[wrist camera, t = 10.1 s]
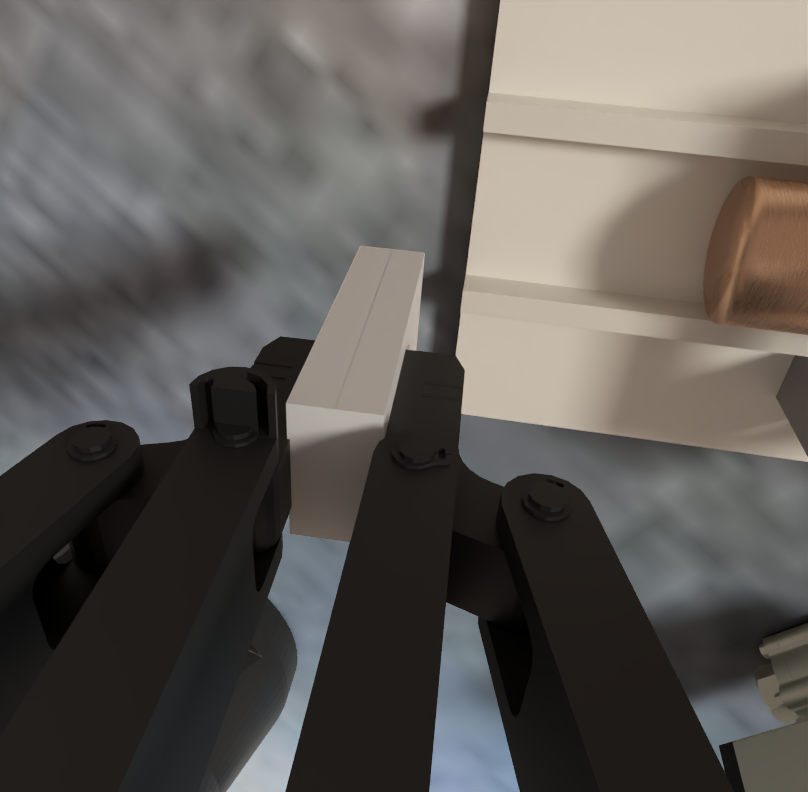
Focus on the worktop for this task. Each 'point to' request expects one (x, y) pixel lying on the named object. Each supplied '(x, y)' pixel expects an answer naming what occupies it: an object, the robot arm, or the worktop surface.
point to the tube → (760, 257)
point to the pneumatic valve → (788, 701)
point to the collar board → (631, 220)
